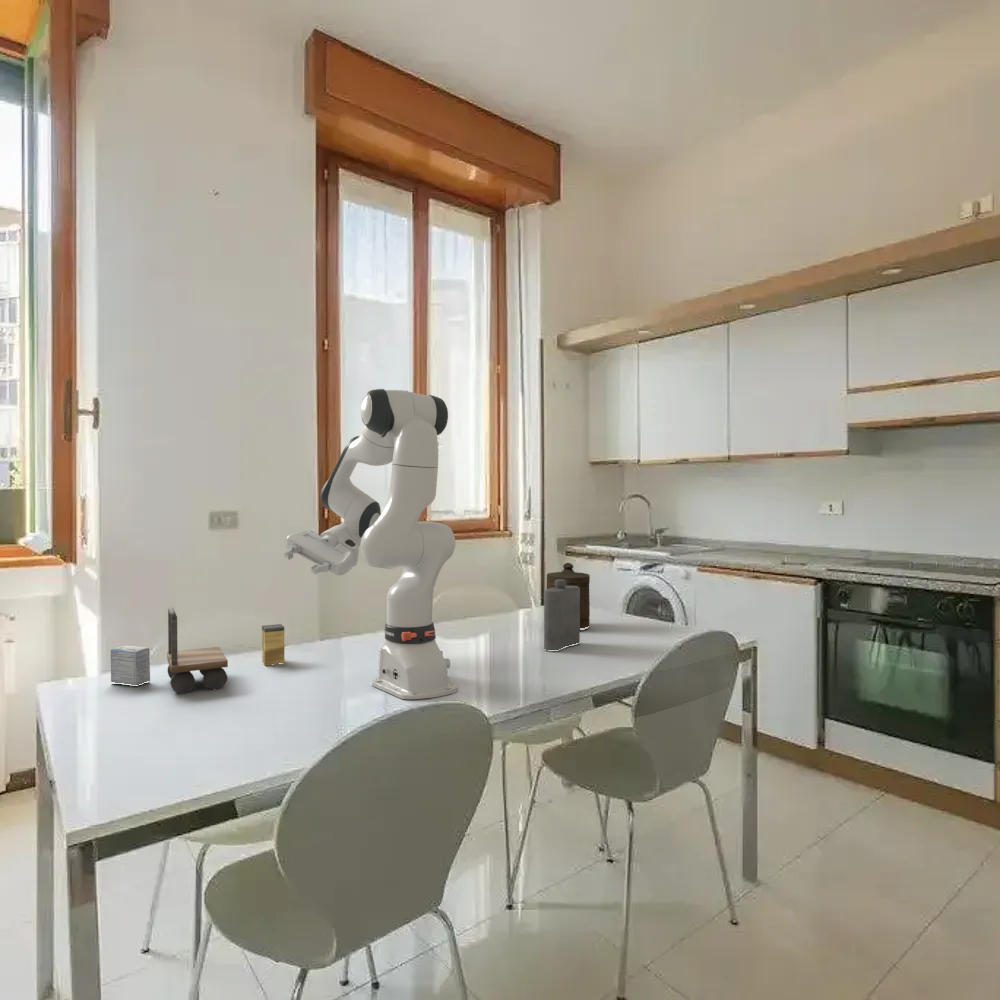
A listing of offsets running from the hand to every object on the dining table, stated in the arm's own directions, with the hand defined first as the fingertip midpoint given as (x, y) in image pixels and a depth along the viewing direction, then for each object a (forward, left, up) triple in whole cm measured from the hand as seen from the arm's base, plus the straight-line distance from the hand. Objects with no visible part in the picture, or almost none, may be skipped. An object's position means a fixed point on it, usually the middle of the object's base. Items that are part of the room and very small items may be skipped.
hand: (299, 563), depth 186 cm
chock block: (+4, +6, -27) cm, 28 cm away
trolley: (-8, +26, -27) cm, 38 cm away
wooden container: (+6, -91, -27) cm, 95 cm away
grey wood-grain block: (0, +40, -27) cm, 48 cm away
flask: (-17, -73, -27) cm, 80 cm away
